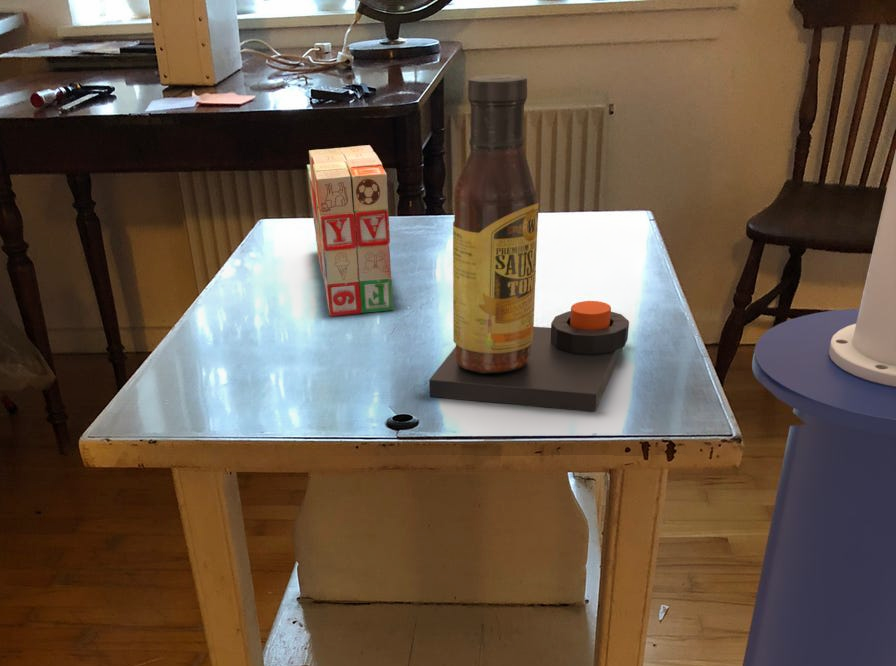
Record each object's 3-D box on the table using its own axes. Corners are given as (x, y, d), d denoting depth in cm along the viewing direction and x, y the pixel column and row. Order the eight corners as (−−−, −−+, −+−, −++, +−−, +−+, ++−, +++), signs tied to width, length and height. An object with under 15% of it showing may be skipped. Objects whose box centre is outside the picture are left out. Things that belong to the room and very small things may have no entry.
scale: (630, 346, 83) (633, 311, 81) (602, 412, 73) (605, 373, 71) (476, 335, 86) (476, 302, 85) (429, 396, 76) (428, 359, 75)
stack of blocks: (315, 253, 109) (303, 132, 102) (371, 248, 110) (362, 127, 102) (329, 317, 92) (315, 176, 85) (395, 310, 93) (386, 170, 85)
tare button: (612, 320, 80) (614, 301, 79) (605, 334, 78) (607, 315, 77) (574, 318, 81) (575, 299, 80) (566, 331, 79) (567, 312, 78)
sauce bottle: (504, 383, 74) (506, 86, 62) (438, 367, 77) (428, 82, 65) (549, 356, 78) (559, 72, 66) (484, 342, 81) (483, 68, 69)
